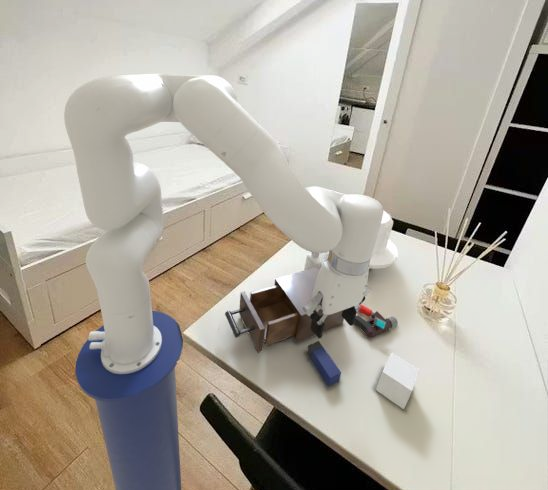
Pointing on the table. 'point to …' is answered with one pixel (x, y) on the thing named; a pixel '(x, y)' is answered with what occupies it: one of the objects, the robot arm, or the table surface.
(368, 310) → the toy gun
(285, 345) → the table surface
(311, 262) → the eye dropper bottle
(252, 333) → the drawer
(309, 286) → the cabinet
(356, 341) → the table surface
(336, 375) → the blue block
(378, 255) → the flanged gear
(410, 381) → the white cube
